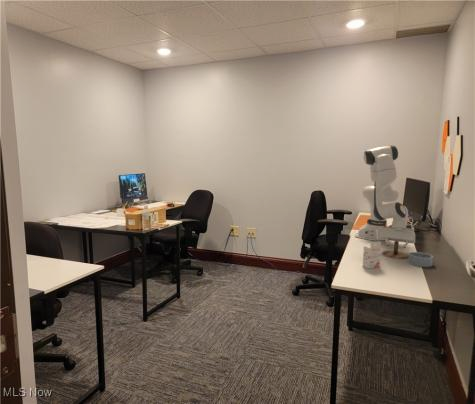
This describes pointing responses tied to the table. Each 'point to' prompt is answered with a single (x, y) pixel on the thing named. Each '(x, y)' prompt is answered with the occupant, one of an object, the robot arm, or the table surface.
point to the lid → (395, 253)
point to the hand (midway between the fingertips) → (396, 246)
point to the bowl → (420, 259)
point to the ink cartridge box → (372, 255)
